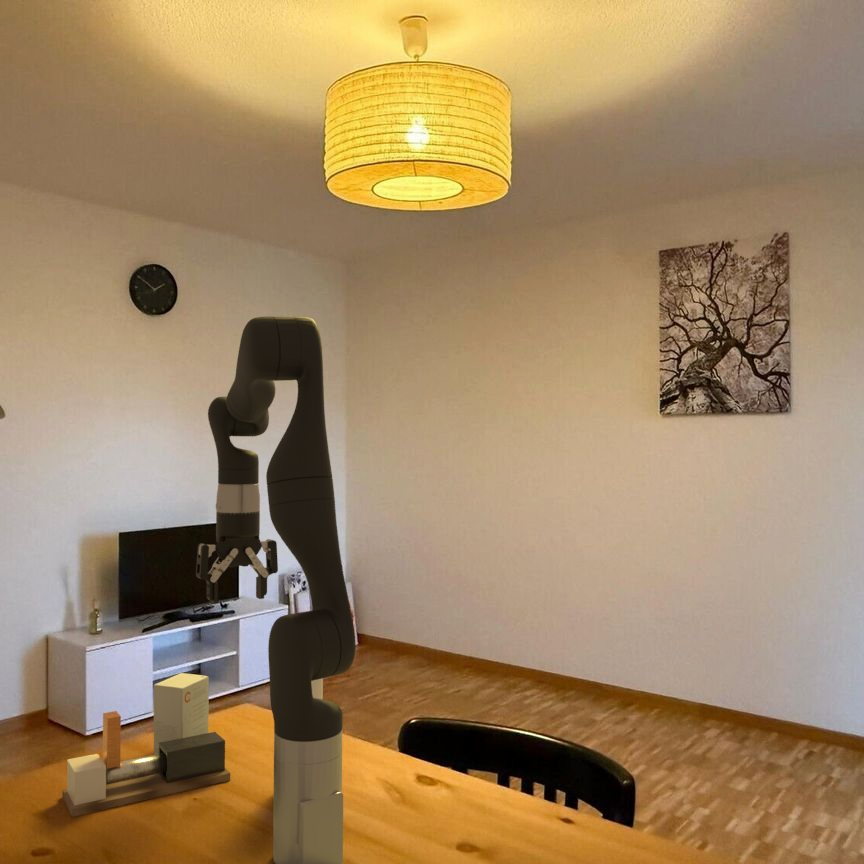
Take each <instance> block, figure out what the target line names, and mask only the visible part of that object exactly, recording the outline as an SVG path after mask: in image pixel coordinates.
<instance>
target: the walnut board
mask: <svg viewBox="0 0 864 864" xmlns="http://www.w3.org/2000/svg"><path fill="white" fill-rule="evenodd" d="M228 781H231V772H229V770H228V769H227V768H226V767H225V771H221V772H216V773H212V774H207V775H203V776H198V777H194V778H189V779H185V780H180V781H176V782H171V783H166V782H165V781H164V779H163V778H162V777H161V776H160V774H154V775H150V776H145V777H141V778H136V779H131V780H127V781H122V782H118V783H113V784H108V785H106V799H102V800H97V801H93V802H88V803H84V804H79V805H75V806H74V804H73V802H72V800H71V798H70V796H69V794H68V792H67V788H66V789H62V790H61V791H62V792H61V795H62V796H61V797H62V800H63V802H64V803H65V805H66V808H67V810H68V812H69V814H70V815H71V817H72V818H73V816H74V817H78V816H82V814H83V815H86V814H91V813H96V812H100V811H103V809H104V810H109V809H112V808H111V807H113V808H115V806H117V807H120V806H119V805H121V806H125V804H126V805H129V803H130V804H134V803H138V801H139V802H142V800H143V801H146V800H151V799H155V797H156V798H160V797H164V795H165V796H169V795H172V794H177V792H178V793H181V792H186V791H190V790H196V789H199V788H204V787H207V786H211V785H215V784H220V783H225V782H228ZM168 794H169V795H168ZM108 808H109V809H108ZM99 810H100V811H99ZM95 811H96V812H95Z"/></svg>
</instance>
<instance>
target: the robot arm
mask: <svg viewBox="0 0 864 864" xmlns="http://www.w3.org/2000/svg"><path fill="white" fill-rule="evenodd" d="M323 362H324V361H323V346H322V339H321V332H320V329H319V327H318V324H317V323H316V321H315V320H314V319H313V318H311V317H307V316H269V315H268V316H256V317H253V318H251V319H250V320H249V321H248V322H246V325H245V326H244V328H243V330H242V334H241V338H240V344H239V349H238V355H237V360H236V367H235V377H234V381H233V382H232V383H231V384H232V385H231V387H230V389H229V391H228V393H227V395H226V396H218V397H215V398H214V399H213V400H212V401H211V403H209V404H210V405H209V406H208V409H207V418H208V423H209V426H210V431H211V434H212V436H213V440H214V444H215V449H216V455H217V465H218V466H217V468H218V469H217V470H218V471H217V473H218V474H217V483H218V484H217V490H216V491H217V492H216V499H215V500H216V503H215V509H216V510H215V511H216V514H215V515H216V516H215V519H216V520H215V522H216V523H215V524H216V526H215V527H216V528H215V537H216V538H215V543H214V544H205V543H199V544H198V545H197V552H196V553H197V554H196V564H195V565H196V566H195V577H196V578H198V579H200V580H204V581H205V582H206V599H207V600H208V601H209V602H210V603H211V604H213V605H215V604H217V605H218V603H219V582H218V580H219V578H220V577H221V576H222V574H223V573H225V571H226V570H227V569H228V567H229V568H232V569H233V568H238V567H249V566H250V567H251V568H252V569H253V571H254V572H255V573H256V575H257V576H256V577H255V597H256V598H257V599H259V600H264V599H265V596H266V595H267V594H268V578H269V576H271V575H273V574H277V573H278V570H279V566H278V561H279V560H278V545H277V544H278V543H277V541H276V540H274V539H269V538H268V539H266V540H260V529H261V528H260V526H261V525H260V523H261V522H260V520H261V519H260V517H261V514H260V513H261V510H260V509H261V504H260V503H261V498H260V497H261V496H260V495H261V494H260V488H259V483H260V482H259V481H260V480H259V479H260V478H259V476H260V475H259V473H260V472H259V467H260V464H259V460H260V459H259V455H258V454H257V452H255V451H252V450H249V449H243V448H240V447H237V446H235V445H234V444H233V442H232V441H231V437H258V436H261V435H263V434H264V433H265V432H266V431H267V429H268V427H269V424H270V413H269V408H270V407H271V406H272V403H273V402H274V399H275V396H276V384H275V382H276V381H278V382H279V381H296V383H297V398H296V404H295V409H294V411H293V414H292V417H291V419H290V422H289V424H288V426H287V428H286V430H285V432H284V433H283V435H282V437H281V439H280V441H279V443H278V445H277V446H276V448H275V450H274V452H273V454H272V456H271V458H270V460H269V462H268V467H267V469H266V475H265V476H266V478H265V479H266V485H267V486H266V488H267V499H268V500H267V501H268V511H269V517H270V521H271V523H272V526H273V528H274V529H275V531H276V533H277V534H278V536H279V537H280V538H281V540H282V541H283V543H284V545H285V546H286V547H287V548H288V550H289V551H290V552H291V554H292V555H293V556H294V558H295V560H296V561H297V562H298V564H299V566H300V567H301V569H302V571H303V574H304V576H305V578H306V582H307V585H308V590H309V595H310V599H311V609H312V610H307V611H300V612H295V613H290V614H285V615H281V616H279V617H278V618H276V620H275V621H274V622H273V624H272V625H271V629H270V631H269V637H268V646H267V650H268V654H267V655H268V670H269V700H270V709H271V712H272V713H271V714H272V718H273V726H274V727H273V729H274V730H273V806H272V807H273V812H272V813H273V815H272V816H273V817H272V820H273V825H272V830H273V833H272V834H273V839H272V840H273V843H272V844H273V846H272V847H273V851H272V853H273V858H272V859H273V863H274V864H343V863H344V794H343V720H344V719H343V711H342V709H341V707H340V706H339V705H338V704H336V703H335V702H333V701H330V700H327V699H318V698H313V695H312V685H311V681H313V680H318V679H322V678H323V679H325V678H329V677H330V678H331V677H334V676H339V675H341V674H344V673H346V672H347V671H348V670H350V669H351V666H352V665H353V662H354V660H355V655H356V633H355V626H354V619H353V615H352V609H351V605H350V600H349V595H348V594H349V593H348V591H347V590H348V589H347V585H346V580H345V576H344V569H343V564H342V563H343V561H342V558H341V557H342V555H341V551H340V550H341V549H340V542H339V534H338V533H339V532H338V525H337V513H336V500H335V489H334V480H333V474H332V473H333V472H332V467H331V458H330V452H329V442H328V436H327V425H326V416H325V415H326V414H325V412H326V411H325V393H324V392H325V390H324V389H325V386H324V385H325V384H324V363H323ZM261 550H262V551H263V552H265V563H266V565H265V566H266V567H265V566H264V564H263V562H262V561H261V560H260V558H258V556H257V555H258V553H260V551H261ZM214 552H215V555H217V558H216V560H214V562H213V564H212V566H211V569H210V570H209V558H210V557H212V554H213V553H214Z"/></svg>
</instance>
